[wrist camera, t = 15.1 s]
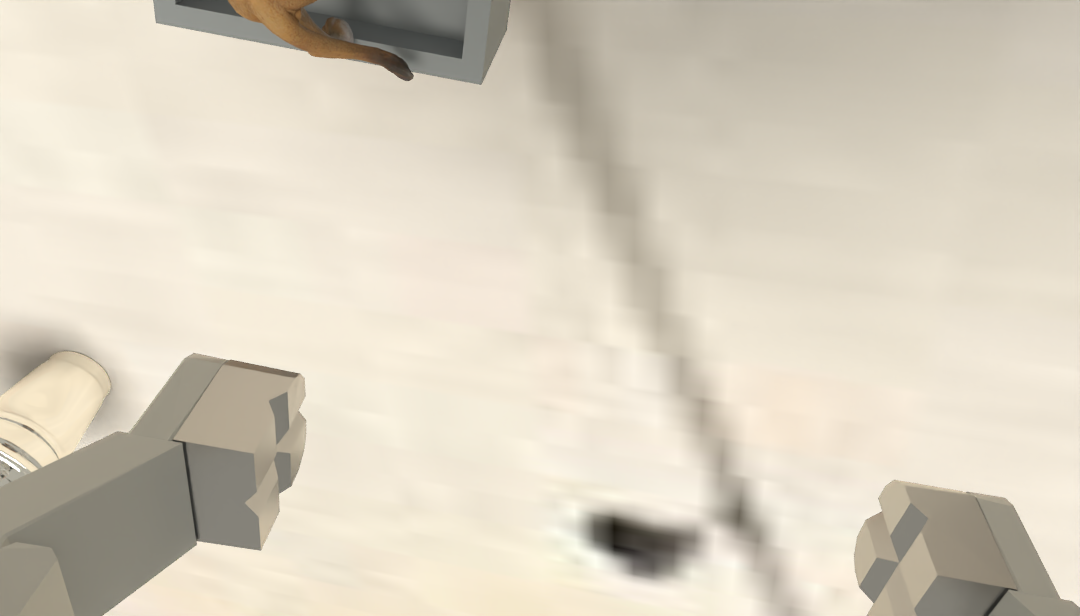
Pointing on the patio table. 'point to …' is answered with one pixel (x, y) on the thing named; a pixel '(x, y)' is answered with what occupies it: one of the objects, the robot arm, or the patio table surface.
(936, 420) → the patio table surface
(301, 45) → the lion figurine
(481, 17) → the grey storage bin
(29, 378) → the cup with straw
